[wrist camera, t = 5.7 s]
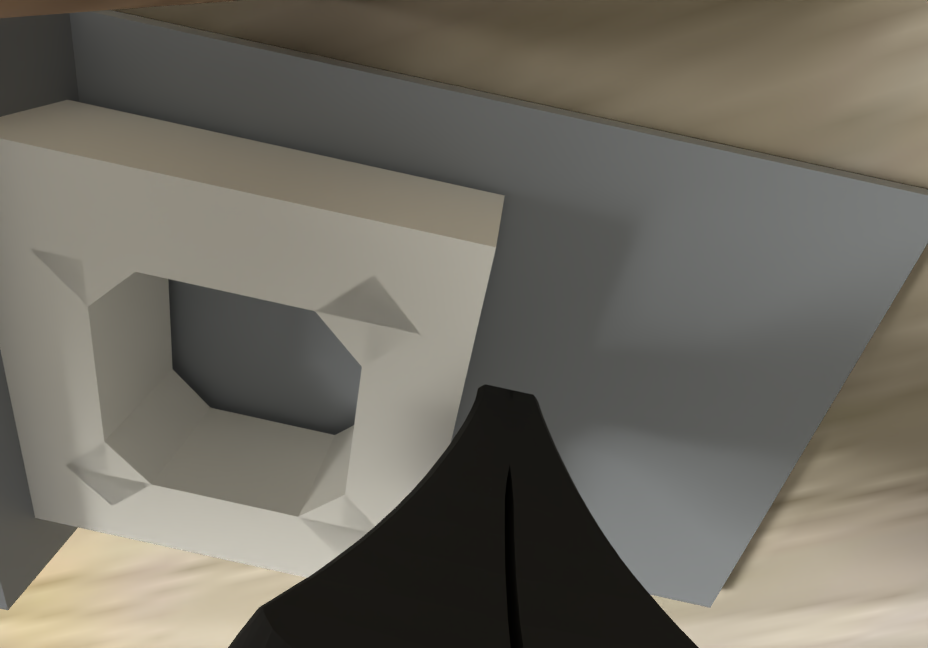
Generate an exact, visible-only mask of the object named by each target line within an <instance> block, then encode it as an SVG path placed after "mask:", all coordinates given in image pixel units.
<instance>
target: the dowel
mask: <svg viewBox="0 0 928 648" xmlns="http://www.w3.org/2000/svg"><path fill="white" fill-rule="evenodd" d="M222 1H235V0H0V18H10V17H23V16H37V15H50V14H63V13H76V12H90V11H103V10H116V9H129V8H143V7H156V6H169V5H182V4H196V3H209V2H222Z"/></svg>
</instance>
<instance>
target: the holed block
mask: <svg viewBox="0 0 928 648" xmlns="http://www.w3.org/2000/svg"><path fill="white" fill-rule="evenodd" d="M504 197H505V195H500V194H495V193H491V192H486V191H482V190H477V189H473V188H468V187H464V186H459V185H454V184H450V183H445V182H441V181H436V180H432V179H427V178H423V177H418V176H413V175H409V174H404V173H400V172H395V171H391V170H386V169H382V168H377V167H372V166H368V165H363V164H359V163H354V162H350V161H345V160H341V159H336V158H331V157H327V156H322V155H318V154H313V153H309V152H304V151H300V150H295V149H290V148H286V147H281V146H277V145H272V144H268V143H263V142H259V141H254V140H249V139H245V138H240V137H236V136H231V135H227V134H222V133H218V132H213V131H208V130H204V129H199V128H195V127H190V126H186V125H181V124H177V123H172V122H167V121H163V120H158V119H154V118H149V117H145V116H140V115H136V114H131V113H126V112H122V111H117V110H113V109H108V108H104V107H99V106H95V105H90V104H85V103H81V102H76V101H72V100H65V101H61V102H57V103H53V104H49V105H45V106H41V107H37V108H33V109H29V110H25V111H21V112H17V113H13V114H9V115H5V116H1V117H0V350H1V355H2V360H3V365H4V370H5V375H6V379H7V384H8V389H9V394H10V399H11V403H12V408H13V413H14V418H15V423H16V428H17V432H18V437H19V442H20V447H21V452H22V456H23V461H24V466H25V471H26V476H27V481H28V485H29V490H30V495H31V500H32V505H33V510H34V514H35V518H38V519H43V520H47V521H52V522H57V523H61V524H66V525H70V526H75V527H79V528H84V529H88V530H93V531H97V532H102V533H106V534H111V535H115V536H120V537H125V538H129V539H134V540H138V541H143V542H147V543H152V544H156V545H161V546H165V547H170V548H174V549H179V550H183V551H188V552H193V553H197V554H202V555H206V556H211V557H215V558H220V559H224V560H229V561H233V562H238V563H242V564H247V565H251V566H256V567H261V568H265V569H270V570H274V571H279V572H283V573H288V574H292V575H297V576H301V577H306V578H308V577H309V576H311V575H312V574H314V573H315V572H316V571H318V570H319V569H321V568H322V567H324V566H325V565H326V564H328V563H329V562H330V561H332V560H333V559H334V558H336V557H337V556H338V555H340V554H341V553H342V552H344V551H345V550H346V549H348V548H349V547H350V546H352V545H353V544H354V543H356V542H357V541H358V540H359V539H361V538H362V537H363V536H364V535H365V534H367V533H368V532H369V531H370V530H371V529H372V528H374V527H375V526H376V525H377V524H378V523H379V522H380V521H381V520H382V519H383V518H385V517H386V516H387V515H388V514H389V513H390V512H391V511H392V510H393V509H394V508H395V507H396V506H397V505H398V504H399V503H400V502H401V501H402V500H403V499H404V498H405V497H406V496H407V495H408V494H409V493H410V492H411V491H412V490H413V489H414V488H415V487H416V486H417V485H418V483H419V482H420V481H421V480H422V479H423V478H424V477H425V475H426V474H427V473H428V472H429V470H430V469H431V468H432V467H433V465H434V464H435V463H436V462H437V460H438V459H439V458H440V457H441V455H442V454H443V453H444V452H445V450H446V449H447V447H448V446H449V445H450V443H451V439H452V435H453V431H454V427H455V422H456V418H457V414H458V409H459V405H460V401H461V396H462V392H463V388H464V383H465V379H466V375H467V371H468V366H469V362H470V358H471V353H472V349H473V345H474V340H475V336H476V332H477V327H478V323H479V319H480V314H481V310H482V306H483V302H484V297H485V293H486V289H487V284H488V280H489V276H490V271H491V267H492V263H493V258H494V254H495V250H496V245H497V239H498V233H499V227H500V221H501V215H502V209H503V203H504ZM168 279H171V280H176V281H180V282H185V283H189V284H194V285H198V286H203V287H207V288H212V289H216V290H221V291H226V292H230V293H235V294H239V295H244V296H248V297H253V298H257V299H262V300H267V301H271V302H276V303H280V304H285V305H289V306H294V307H298V308H303V309H307V310H312V311H315V312H316V313H317V314H318V315H319V317H320V318H321V319H322V320H323V321H324V323H325V324H326V325H327V326H328V327H329V328H330V330H331V331H332V332H333V333H334V334H335V336H336V337H337V338H338V339H339V340H340V342H341V343H342V344H343V345H344V346H345V347H346V349H347V350H348V351H349V352H350V353H351V355H352V356H353V357H354V358H355V359H356V361H357V362H358V363H359V364H360V365H361V367H362V369H361V377H360V385H359V392H358V400H357V408H356V415H355V423H354V425H353V426H351V427H349V428H348V429H346V430H344V431H342V432H340V433H338V434H336V435H332V434H328V433H323V432H319V431H314V430H310V429H305V428H301V427H296V426H292V425H287V424H282V423H278V422H273V421H269V420H264V419H260V418H255V417H251V416H246V415H242V414H237V413H233V412H228V411H223V410H219V409H214V408H210V407H209V406H208V405H207V404H206V403H205V402H204V401H203V400H202V399H201V398H200V397H199V396H198V394H197V393H196V392H195V391H194V390H193V389H192V388H191V387H190V386H189V385H188V384H187V383H186V382H185V381H184V380H183V379H182V378H181V377H180V376H179V375H178V374H177V373H176V372H175V371H174V370H173V367H172V346H171V326H170V305H169V284H168Z"/></svg>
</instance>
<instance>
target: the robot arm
mask: <svg viewBox="0 0 928 648" xmlns="http://www.w3.org/2000/svg"><path fill="white" fill-rule="evenodd" d="M228 648H698V647H697V646H696V645H695V643H694V642H693V641H692V640H691V639H690V638H689V637H688V636H687V635H686V634H685V633H684V632H683V631H682V630H681V629H680V628H679V627H678V626H677V625H676V624H675V623H674V622H673V620H672V619H671V618H670V617H669V616H668V615H667V614H666V613H665V612H664V610H663V609H662V608H661V607H660V606H659V605H658V604H657V602H656V601H655V600H654V599H653V598H652V596H651V595H650V594H649V593H648V592H647V590H646V589H645V588H644V587H643V586H642V584H641V583H640V582H639V581H638V580H637V578H636V577H635V576H634V575H633V574H632V572H631V571H630V570H629V568H628V567H627V566H626V565H625V563H624V562H623V561H622V559H621V558H620V557H619V555H618V554H617V552H616V551H615V549H614V548H613V547H612V545H611V544H610V542H609V541H608V539H607V538H606V536H605V535H604V533H603V532H602V530H601V529H600V527H599V526H598V524H597V522H596V521H595V519H594V518H593V516H592V514H591V513H590V511H589V509H588V507H587V506H586V504H585V502H584V501H583V499H582V497H581V495H580V494H579V492H578V490H577V488H576V486H575V484H574V483H573V481H572V479H571V477H570V475H569V473H568V471H567V469H566V467H565V465H564V463H563V461H562V459H561V457H560V454H559V452H558V450H557V448H556V446H555V444H554V441H553V439H552V437H551V434H550V432H549V429H548V427H547V425H546V422H545V419H544V417H543V414H542V411H541V409H540V406H539V403H538V400H537V399H536V397H535V396H534V395H533V394H528V393H524V392H519V391H514V390H510V389H505V388H501V387H496V386H491V385H487V384H485V385H483V386H481V387H479V388H478V390H477V395H476V399H475V401H474V404H473V406H472V408H471V410H470V412H469V414H468V416H467V418H466V419H465V421H464V423H463V425H462V426H461V428H460V429H459V431H458V432H457V434H456V435H455V437H454V438H453V440H452V442H451V443H450V445H449V446H448V447H447V449H446V450H445V452H444V453H443V454H442V455H441V457H440V458H439V459H438V460H437V462H436V463H435V464H434V465H433V467H432V468H431V469H430V470H429V472H428V473H427V474H426V475H425V477H424V478H423V479H422V480H421V481H420V482H419V483H418V485H417V486H416V487H415V488H414V489H413V490H412V491H411V492H410V493H409V494H408V495H407V496H406V497H405V498H404V499H403V500H402V501H401V502H400V503H399V504H398V505H397V506H396V507H395V508H394V509H393V510H392V511H391V512H390V513H389V514H388V515H387V516H386V517H385V518H383V519H382V520H381V521H380V522H379V523H378V524H377V525H376V526H375V527H374V528H372V529H371V530H370V531H369V532H368V533H367V534H365V535H364V536H363V537H362V538H361V539H359V540H358V541H357V542H356V543H354V544H353V545H352V546H350V547H349V548H348V549H346V550H345V551H344V552H342V553H341V554H340V555H338V556H337V557H336V558H334V559H333V560H332V561H330V562H329V563H328V564H326V565H325V566H324V567H322V568H321V569H319V570H318V571H316V572H315V573H314V574H312V575H311V576H309V577H308V578H306V579H304V580H303V581H301V582H300V583H298V584H296V585H295V586H293V587H291V588H290V589H288V590H287V591H285V592H283V593H282V594H280V595H279V596H277V597H275V598H274V599H272V600H271V601H269V602H267V603H266V604H264V605H262V606H261V607H259V608H258V610H257V611H256V612H255V613H254V614H253V616H252V617H251V618H250V619H249V621H248V622H247V623H246V625H245V626H244V627H243V628H242V630H241V631H240V632H239V634H238V635H237V636H236V638H235V639H234V640H233V642H232V643H231V644H230V646H229V647H228Z"/></svg>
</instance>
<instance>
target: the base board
mask: <svg viewBox="0 0 928 648" xmlns="http://www.w3.org/2000/svg"><path fill="white" fill-rule="evenodd" d="M65 100H72V101H76V102H81V103H85V104H90V105H95V106H99V107H104V108H108V109H113V110H117V111H122V112H126V113H131V114H136V115H140V116H145V117H149V118H154V119H158V120H163V121H167V122H172V123H177V124H181V125H186V126H190V127H195V128H199V129H204V130H208V131H213V132H218V133H222V134H227V135H231V136H236V137H240V138H245V139H249V140H254V141H259V142H263V143H268V144H272V145H277V146H281V147H286V148H290V149H295V150H300V151H304V152H309V153H313V154H318V155H322V156H327V157H331V158H336V159H341V160H345V161H350V162H354V163H359V164H363V165H368V166H372V167H377V168H382V169H386V170H391V171H395V172H400V173H404V174H409V175H413V176H418V177H423V178H427V179H432V180H436V181H441V182H445V183H450V184H454V185H459V186H464V187H468V188H473V189H477V190H482V191H486V192H491V193H495V194H500V195H505V197H504V203H503V209H502V215H501V221H500V227H499V233H498V239H497V245H496V250H495V254H494V258H493V263H492V267H491V271H490V276H489V280H488V284H487V289H486V293H485V297H484V302H483V306H482V310H481V314H480V319H479V323H478V327H477V332H476V336H475V340H474V345H473V349H472V353H471V358H470V362H469V366H468V371H467V375H466V379H465V383H464V388H463V392H462V396H461V401H460V405H459V409H458V414H457V418H456V422H455V427H454V431H453V435H452V439H451V442H452V440H453V438H454V437H455V435H456V434H457V432H458V431H459V429H460V428H461V426H462V425H463V423H464V421H465V419H466V418H467V416H468V414H469V412H470V410H471V408H472V406H473V404H474V401H475V399H476V395H477V390H478V388H479V387H481V386H483V385H485V384H487V385H491V386H496V387H501V388H505V389H510V390H514V391H519V392H524V393H528V394H533V395H534V396H535V397H536V399H537V400H538V403H539V406H540V409H541V411H542V414H543V417H544V419H545V422H546V425H547V427H548V429H549V432H550V434H551V437H552V439H553V441H554V444H555V446H556V448H557V450H558V452H559V454H560V457H561V459H562V461H563V463H564V465H565V467H566V469H567V471H568V473H569V475H570V477H571V479H572V481H573V483H574V484H575V486H576V488H577V490H578V492H579V494H580V495H581V497H582V499H583V501H584V502H585V504H586V506H587V507H588V509H589V511H590V513H591V514H592V516H593V518H594V519H595V521H596V522H597V524H598V526H599V527H600V529H601V530H602V532H603V533H604V535H605V536H606V538H607V539H608V541H609V542H610V544H611V545H612V547H613V548H614V549H615V551H616V552H617V554H618V555H619V557H620V558H621V559H622V561H623V562H624V563H625V565H626V566H627V567H628V568H629V570H630V571H631V572H632V574H633V575H634V576H635V577H636V578H637V580H638V581H639V582H640V583H641V584H642V586H643V587H644V588H645V589H646V590H647V592H648V593H649V594H651V595H655V596H660V597H664V598H669V599H673V600H678V601H682V602H687V603H691V604H696V605H701V606H705V607H711V605H712V604H713V602H714V600H715V599H716V597H717V595H718V594H719V592H720V590H721V589H722V587H723V585H724V584H725V582H726V580H727V579H728V577H729V575H730V574H731V572H732V570H733V569H734V567H735V565H736V564H737V562H738V560H739V559H740V557H741V555H742V554H743V552H744V550H745V548H746V547H747V545H748V543H749V542H750V540H751V538H752V537H753V535H754V533H755V532H756V530H757V528H758V527H759V525H760V523H761V522H762V520H763V518H764V517H765V515H766V513H767V512H768V510H769V508H770V507H771V505H772V503H773V502H774V500H775V498H776V497H777V495H778V493H779V492H780V490H781V488H782V486H783V485H784V483H785V481H786V480H787V478H788V476H789V475H790V473H791V471H792V470H793V468H794V466H795V465H796V463H797V461H798V460H799V458H800V456H801V455H802V453H803V451H804V450H805V448H806V446H807V445H808V443H809V441H810V440H811V438H812V436H813V435H814V433H815V431H816V430H817V428H818V426H819V425H820V423H821V421H822V419H823V418H824V416H825V414H826V413H827V411H828V409H829V408H830V406H831V404H832V403H833V401H834V399H835V398H836V396H837V394H838V393H839V391H840V389H841V388H842V386H843V384H844V383H845V381H846V379H847V378H848V376H849V374H850V373H851V371H852V369H853V368H854V366H855V364H856V363H857V361H858V359H859V357H860V356H861V354H862V352H863V351H864V349H865V347H866V346H867V344H868V342H869V341H870V339H871V337H872V336H873V334H874V332H875V331H876V329H877V327H878V326H879V324H880V322H881V321H882V319H883V317H884V316H885V314H886V312H887V311H888V309H889V307H890V306H891V304H892V302H893V301H894V299H895V297H896V296H897V294H898V292H899V290H900V289H901V287H902V285H903V284H904V282H905V280H906V279H907V277H908V275H909V274H910V272H911V270H912V269H913V267H914V265H915V264H916V262H917V260H918V259H919V257H920V255H921V254H922V252H923V250H924V249H925V247H926V245H927V244H928V189H924V188H920V187H915V186H911V185H906V184H901V183H897V182H892V181H888V180H883V179H879V178H874V177H870V176H865V175H860V174H856V173H851V172H847V171H842V170H838V169H833V168H828V167H824V166H819V165H815V164H810V163H806V162H801V161H797V160H792V159H787V158H783V157H778V156H774V155H769V154H765V153H760V152H756V151H751V150H746V149H742V148H737V147H733V146H728V145H724V144H719V143H714V142H710V141H705V140H701V139H696V138H692V137H687V136H683V135H678V134H673V133H669V132H664V131H660V130H655V129H651V128H646V127H642V126H637V125H632V124H628V123H623V122H619V121H614V120H610V119H605V118H601V117H596V116H591V115H587V114H582V113H578V112H573V111H569V110H564V109H559V108H555V107H550V106H546V105H541V104H537V103H532V102H528V101H523V100H518V99H514V98H509V97H505V96H500V95H496V94H491V93H487V92H482V91H477V90H473V89H468V88H464V87H459V86H455V85H450V84H445V83H441V82H436V81H432V80H427V79H423V78H418V77H414V76H409V75H404V74H400V73H395V72H391V71H386V70H382V69H377V68H373V67H368V66H363V65H359V64H354V63H350V62H345V61H341V60H336V59H332V58H327V57H322V56H318V55H313V54H309V53H304V52H300V51H295V50H290V49H286V48H281V47H277V46H272V45H268V44H263V43H259V42H254V41H249V40H245V39H240V38H236V37H231V36H227V35H222V34H218V33H213V32H208V31H204V30H199V29H195V28H190V27H186V26H181V25H176V24H172V23H167V22H163V21H158V20H154V19H149V18H145V17H140V16H135V15H131V14H126V13H122V12H117V11H113V10H103V11H90V12H76V13H63V14H50V15H37V16H23V17H10V18H0V117H1V116H5V115H9V114H13V113H17V112H21V111H25V110H29V109H33V108H37V107H41V106H45V105H49V104H53V103H57V102H61V101H65ZM168 284H169V305H170V326H171V346H172V367H173V370H174V371H175V372H176V373H177V374H178V375H179V376H180V377H181V378H182V379H183V380H184V381H185V382H186V383H187V384H188V385H189V386H190V387H191V388H192V389H193V390H194V391H195V392H196V393H197V394H198V396H199V397H200V398H201V399H202V400H203V401H204V402H205V403H206V404H207V405H208V406H209V407H210V408H214V409H219V410H223V411H228V412H233V413H237V414H242V415H246V416H251V417H255V418H260V419H264V420H269V421H273V422H278V423H282V424H287V425H292V426H296V427H301V428H305V429H310V430H314V431H319V432H323V433H328V434H332V435H336V434H338V433H340V432H342V431H344V430H346V429H348V428H349V427H351V426H353V425H354V423H355V415H356V408H357V400H358V392H359V385H360V377H361V369H362V367H361V365H360V364H359V363H358V362H357V361H356V359H355V358H354V357H353V356H352V355H351V353H350V352H349V351H348V350H347V349H346V347H345V346H344V345H343V344H342V343H341V342H340V340H339V339H338V338H337V337H336V336H335V334H334V333H333V332H332V331H331V330H330V328H329V327H328V326H327V325H326V324H325V323H324V321H323V320H322V319H321V318H320V317H319V315H318V314H317V313H316V312H315V311H312V310H307V309H303V308H298V307H294V306H289V305H285V304H280V303H276V302H271V301H267V300H262V299H257V298H253V297H248V296H244V295H239V294H235V293H230V292H226V291H221V290H216V289H212V288H207V287H203V286H198V285H194V284H189V283H185V282H180V281H176V280H171V279H168ZM77 528H78V527H75V526H70V525H66V524H61V523H57V522H52V521H47V520H43V519H38V518H35V514H34V510H33V505H32V500H31V495H30V490H29V485H28V481H27V476H26V471H25V466H24V461H23V456H22V452H21V447H20V442H19V437H18V432H17V428H16V423H15V418H14V413H13V408H12V403H11V399H10V394H9V389H8V384H7V379H6V375H5V370H4V365H3V360H2V355H1V350H0V609H5V610H9V608H10V607H11V606H12V605H13V604H14V603H15V601H16V600H17V599H18V598H19V597H20V595H21V594H22V593H23V592H24V591H25V590H26V588H27V587H28V586H29V585H30V584H31V582H32V581H33V580H34V579H35V578H36V576H37V575H38V574H39V573H40V572H41V571H42V569H43V568H44V567H45V566H46V565H47V563H48V562H49V561H50V560H51V559H52V558H53V556H54V555H55V554H56V553H57V552H58V550H59V549H60V548H61V547H62V546H63V545H64V543H65V542H66V541H67V540H68V539H69V537H70V536H71V535H72V534H73V533H74V532H75V530H76V529H77Z"/></svg>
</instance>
